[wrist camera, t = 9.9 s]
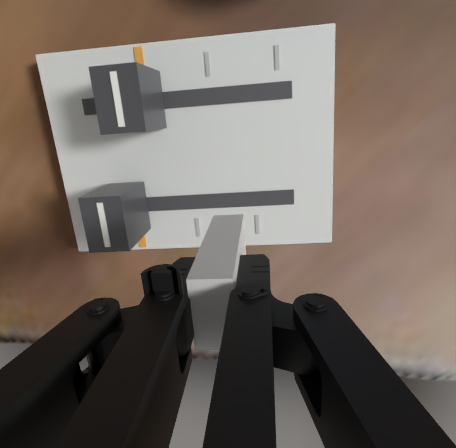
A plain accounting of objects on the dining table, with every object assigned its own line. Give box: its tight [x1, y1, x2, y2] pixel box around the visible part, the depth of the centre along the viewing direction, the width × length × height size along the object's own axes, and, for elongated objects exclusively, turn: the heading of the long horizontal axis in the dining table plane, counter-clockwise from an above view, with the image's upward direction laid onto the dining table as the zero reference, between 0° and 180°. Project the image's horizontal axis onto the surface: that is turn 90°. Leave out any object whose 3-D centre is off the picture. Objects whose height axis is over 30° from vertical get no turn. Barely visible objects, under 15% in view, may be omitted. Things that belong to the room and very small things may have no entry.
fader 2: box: [78, 181, 151, 252], centre depth 26 cm, size 4×3×5 cm
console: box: [36, 23, 335, 251], centre depth 28 cm, size 16×22×2 cm
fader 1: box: [88, 62, 167, 135], centre depth 24 cm, size 4×3×5 cm
